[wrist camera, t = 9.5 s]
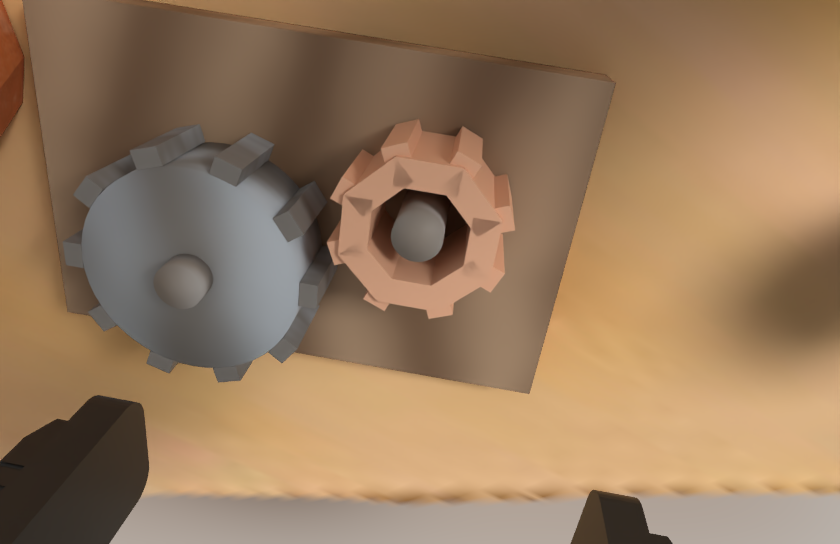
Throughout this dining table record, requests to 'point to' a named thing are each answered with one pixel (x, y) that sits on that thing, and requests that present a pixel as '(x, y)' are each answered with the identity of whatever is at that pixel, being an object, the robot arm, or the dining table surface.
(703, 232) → the dining table surface
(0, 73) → the bread
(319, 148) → the gear board
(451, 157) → the loose gear
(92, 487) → the robot arm
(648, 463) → the dining table surface
